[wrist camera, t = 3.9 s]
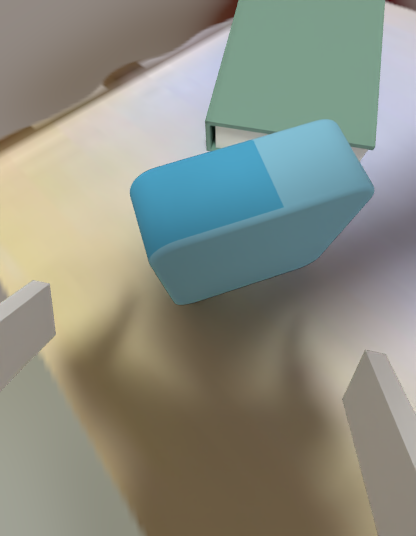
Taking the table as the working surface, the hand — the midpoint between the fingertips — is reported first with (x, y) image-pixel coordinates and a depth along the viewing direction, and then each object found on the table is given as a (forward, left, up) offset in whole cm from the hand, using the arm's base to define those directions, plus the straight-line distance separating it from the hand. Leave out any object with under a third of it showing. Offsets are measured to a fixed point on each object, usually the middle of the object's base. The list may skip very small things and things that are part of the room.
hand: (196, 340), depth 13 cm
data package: (-1, -8, -12) cm, 14 cm away
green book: (-3, -28, -12) cm, 30 cm away
